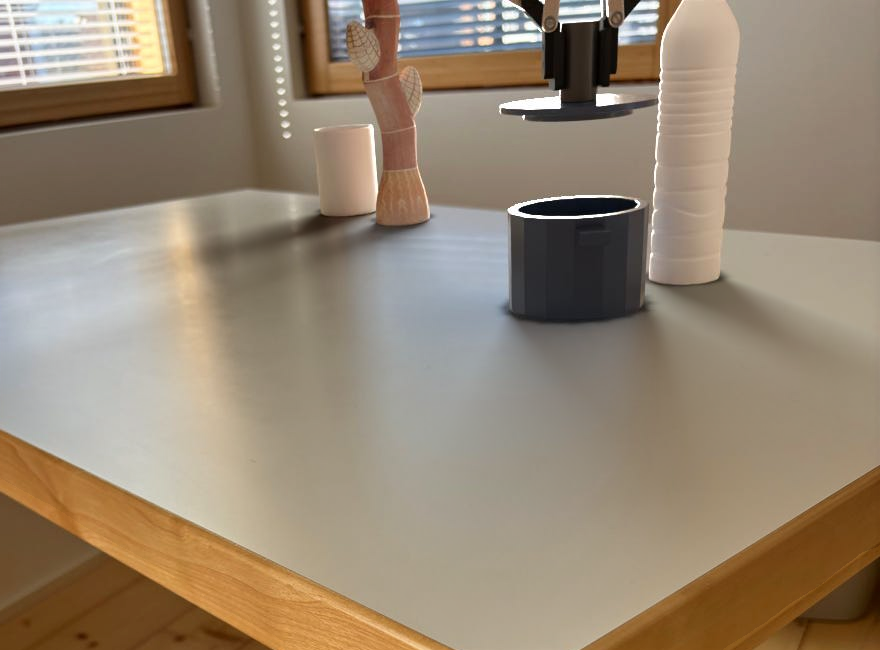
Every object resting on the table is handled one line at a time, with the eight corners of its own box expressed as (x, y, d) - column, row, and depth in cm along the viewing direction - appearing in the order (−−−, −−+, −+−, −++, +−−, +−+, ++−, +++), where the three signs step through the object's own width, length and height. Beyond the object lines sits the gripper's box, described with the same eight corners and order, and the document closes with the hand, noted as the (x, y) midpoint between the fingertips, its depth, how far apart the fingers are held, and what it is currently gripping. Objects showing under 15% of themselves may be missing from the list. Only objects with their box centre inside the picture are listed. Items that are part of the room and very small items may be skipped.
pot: (621, 283, 98) (625, 187, 94) (664, 328, 84) (671, 217, 79) (500, 292, 99) (498, 197, 94) (522, 338, 84) (521, 228, 80)
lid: (638, 105, 89) (643, 16, 85) (675, 116, 78) (682, 14, 75) (492, 116, 89) (491, 27, 86) (509, 128, 78) (508, 27, 75)
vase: (421, 213, 143) (407, -44, 128) (442, 220, 137) (430, -50, 122) (350, 223, 140) (327, -40, 125) (368, 230, 134) (346, -45, 119)
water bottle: (716, 288, 94) (743, -38, 81) (643, 287, 96) (659, -30, 84) (724, 268, 101) (750, -35, 88) (656, 268, 103) (673, -28, 91)
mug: (387, 211, 147) (381, 126, 141) (329, 218, 145) (321, 132, 139) (362, 202, 157) (356, 121, 151) (308, 208, 155) (300, 127, 149)
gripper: (686, -204, 76) (669, 78, 86) (466, -187, 76) (472, 93, 86) (715, -226, 70) (693, 82, 79) (474, -207, 70) (480, 98, 79)
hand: (578, 85), depth 82 cm, fingers closed on lid, 3 cm apart
